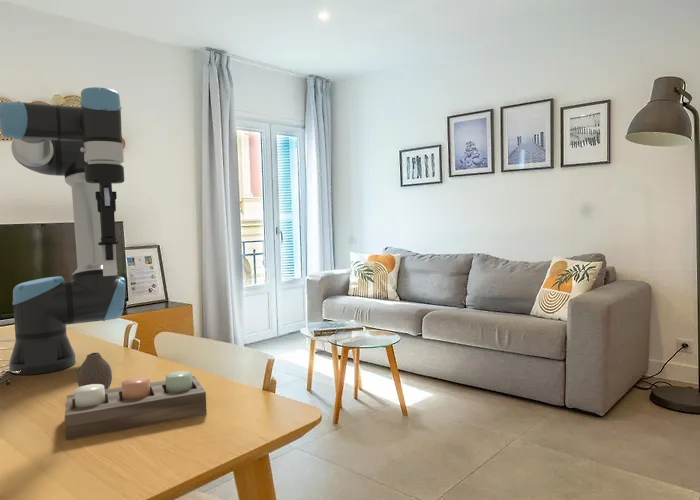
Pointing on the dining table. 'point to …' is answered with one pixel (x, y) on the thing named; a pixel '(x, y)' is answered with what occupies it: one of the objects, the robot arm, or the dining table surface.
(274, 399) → the dining table surface
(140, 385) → the button terracotta
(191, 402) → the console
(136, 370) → the dining table surface
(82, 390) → the button cream
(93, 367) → the vase
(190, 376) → the button sage
